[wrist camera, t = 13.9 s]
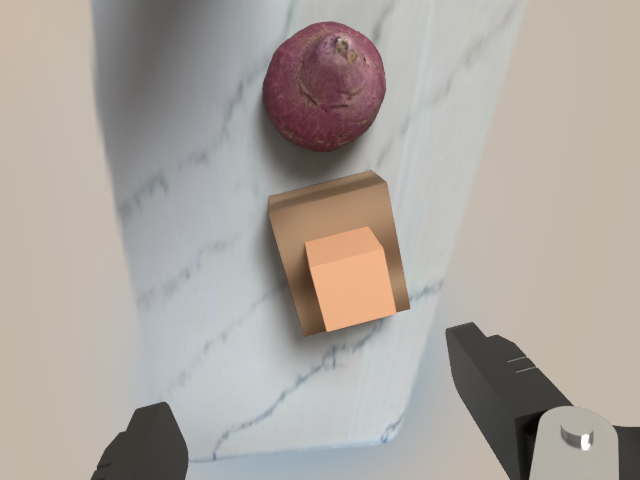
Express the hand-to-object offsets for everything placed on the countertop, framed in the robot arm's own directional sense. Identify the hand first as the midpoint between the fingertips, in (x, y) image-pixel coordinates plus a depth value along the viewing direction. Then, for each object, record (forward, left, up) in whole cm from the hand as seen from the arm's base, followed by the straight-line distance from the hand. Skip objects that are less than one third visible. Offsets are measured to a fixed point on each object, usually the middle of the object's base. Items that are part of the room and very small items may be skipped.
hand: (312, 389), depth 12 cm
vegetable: (-7, +5, -30) cm, 32 cm away
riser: (+7, +3, -30) cm, 31 cm away
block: (+7, +3, -24) cm, 25 cm away
